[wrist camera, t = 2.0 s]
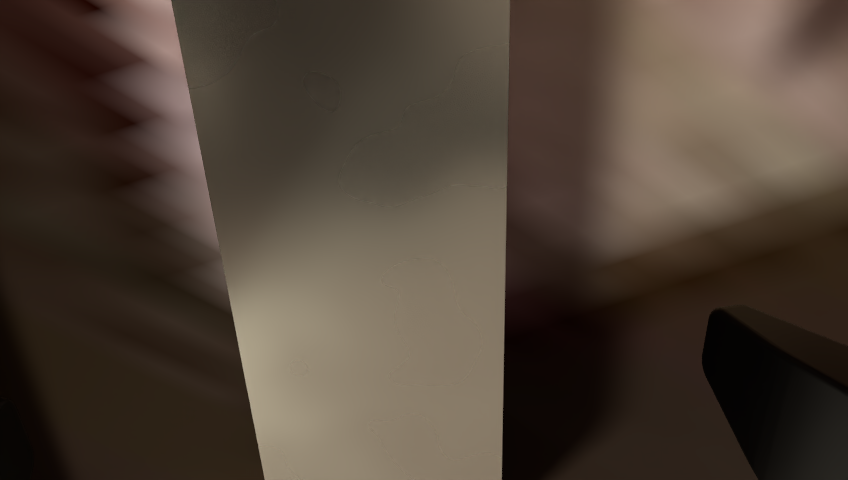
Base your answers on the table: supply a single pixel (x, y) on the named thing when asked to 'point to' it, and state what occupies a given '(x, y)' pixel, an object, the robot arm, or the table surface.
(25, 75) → the table surface
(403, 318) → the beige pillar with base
